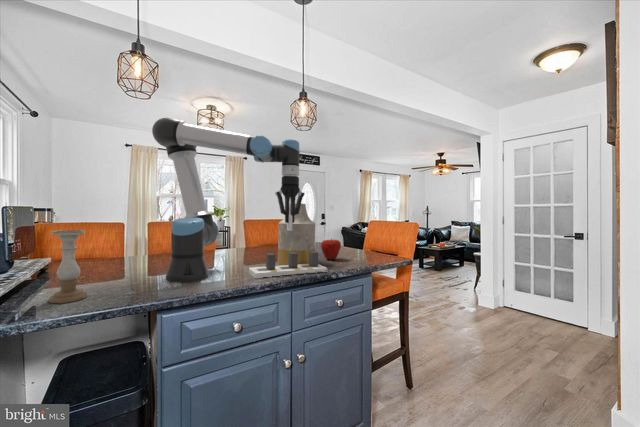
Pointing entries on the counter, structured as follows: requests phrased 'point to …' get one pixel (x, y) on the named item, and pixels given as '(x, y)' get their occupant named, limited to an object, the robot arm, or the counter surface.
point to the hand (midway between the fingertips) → (289, 230)
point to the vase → (296, 237)
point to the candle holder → (68, 269)
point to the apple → (330, 248)
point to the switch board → (284, 270)
